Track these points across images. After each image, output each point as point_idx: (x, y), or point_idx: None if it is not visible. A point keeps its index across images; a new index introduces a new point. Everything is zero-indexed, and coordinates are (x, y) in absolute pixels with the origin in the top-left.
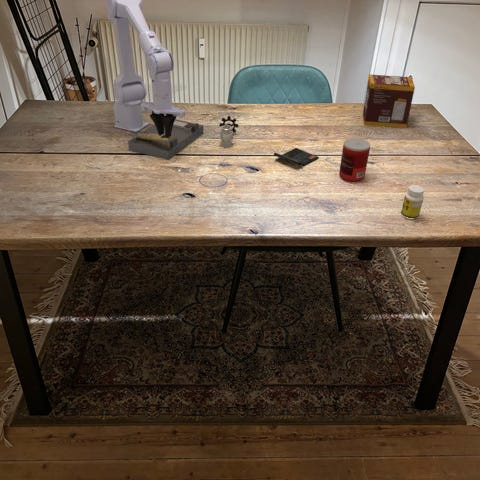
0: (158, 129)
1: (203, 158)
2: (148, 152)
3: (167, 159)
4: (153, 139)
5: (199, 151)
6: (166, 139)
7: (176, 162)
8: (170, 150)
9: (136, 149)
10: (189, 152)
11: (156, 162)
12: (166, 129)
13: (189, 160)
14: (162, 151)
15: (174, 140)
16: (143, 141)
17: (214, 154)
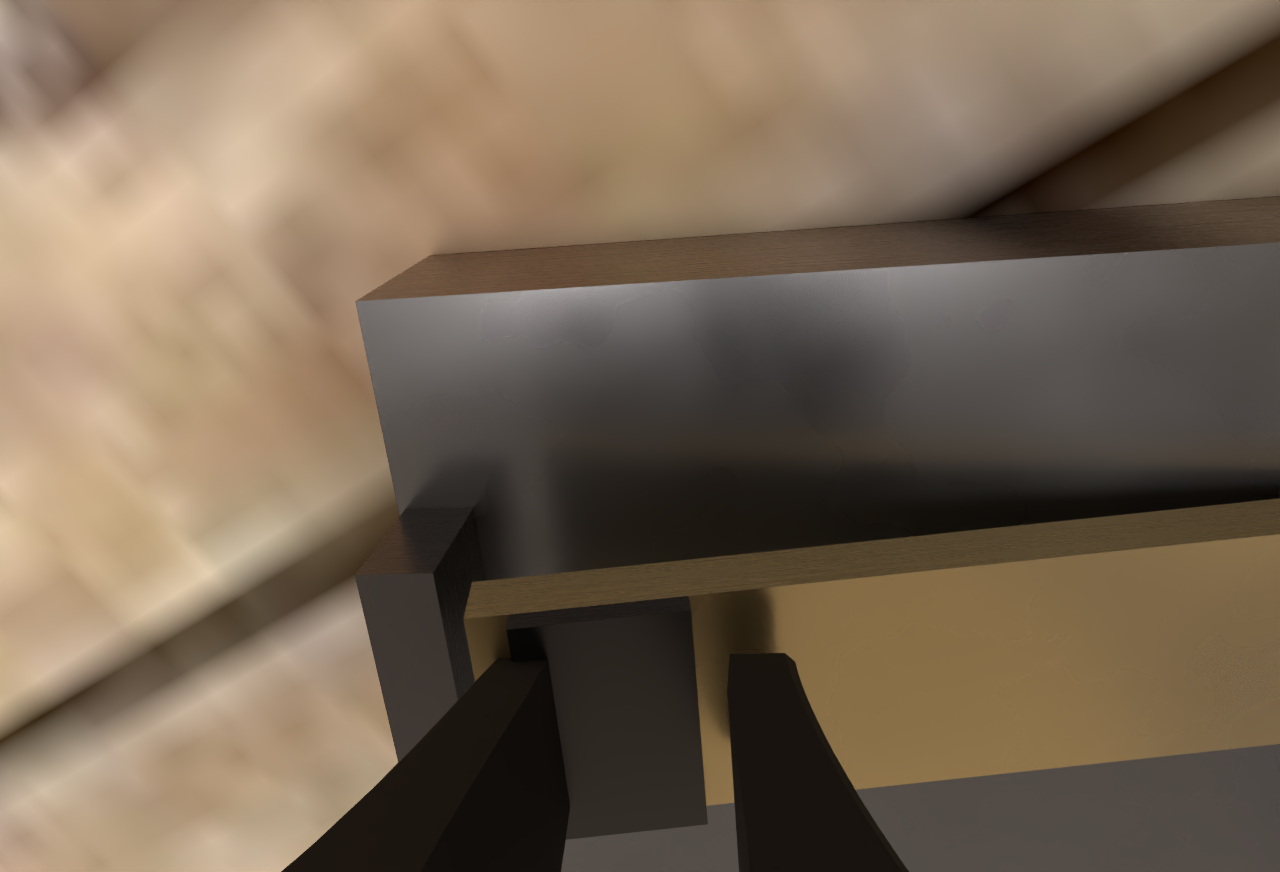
0: (763, 767)
1: (43, 599)
2: (918, 235)
3: (451, 255)
4: (939, 537)
5: (257, 754)
6: (520, 594)
7: (253, 256)
8: (384, 395)
9: (1271, 211)
10: (349, 666)
11: (560, 28)
12: (383, 812)
13: (145, 438)
14: (521, 283)
15: (392, 674)
16: (1217, 443)
17: (33, 766)
